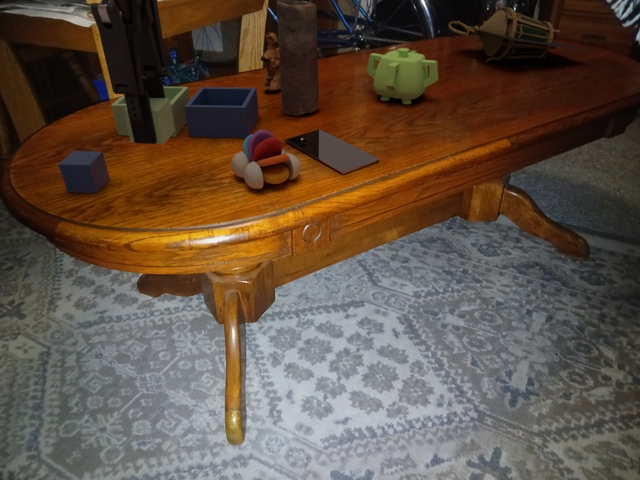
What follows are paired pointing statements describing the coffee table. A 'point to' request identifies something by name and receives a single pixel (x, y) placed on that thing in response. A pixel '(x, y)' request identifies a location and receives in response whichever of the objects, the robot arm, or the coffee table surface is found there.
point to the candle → (298, 56)
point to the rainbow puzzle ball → (264, 161)
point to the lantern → (513, 35)
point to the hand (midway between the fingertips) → (153, 134)
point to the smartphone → (332, 151)
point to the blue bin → (222, 112)
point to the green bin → (178, 101)
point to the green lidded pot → (401, 74)
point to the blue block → (84, 171)
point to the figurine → (271, 64)
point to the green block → (157, 119)
